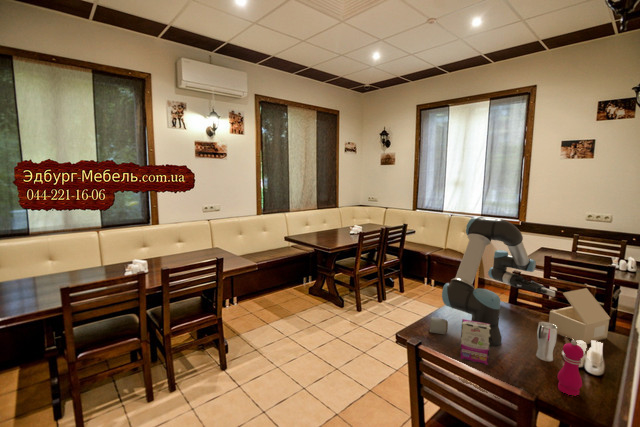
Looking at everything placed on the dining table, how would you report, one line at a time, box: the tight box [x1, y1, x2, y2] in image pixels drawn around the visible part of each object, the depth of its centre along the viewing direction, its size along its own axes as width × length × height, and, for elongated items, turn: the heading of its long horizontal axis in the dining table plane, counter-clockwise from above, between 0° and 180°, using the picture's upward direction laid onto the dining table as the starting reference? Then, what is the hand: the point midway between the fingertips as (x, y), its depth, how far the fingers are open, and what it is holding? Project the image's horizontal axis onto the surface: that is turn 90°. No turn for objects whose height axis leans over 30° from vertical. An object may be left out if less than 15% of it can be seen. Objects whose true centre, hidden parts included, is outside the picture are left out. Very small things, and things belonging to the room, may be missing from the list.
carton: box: [548, 305, 610, 345], centre depth 156 cm, size 18×16×10 cm
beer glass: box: [535, 321, 558, 363], centre depth 135 cm, size 7×7×15 cm
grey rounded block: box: [429, 316, 449, 335], centre depth 158 cm, size 11×8×8 cm
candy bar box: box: [459, 318, 491, 366], centre depth 134 cm, size 11×5×16 cm, turn 64°
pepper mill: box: [557, 340, 585, 396], centre depth 114 cm, size 7×7×20 cm
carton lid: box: [562, 287, 611, 325], centre depth 152 cm, size 18×16×1 cm
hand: (554, 294), depth 167 cm, fingers closed
